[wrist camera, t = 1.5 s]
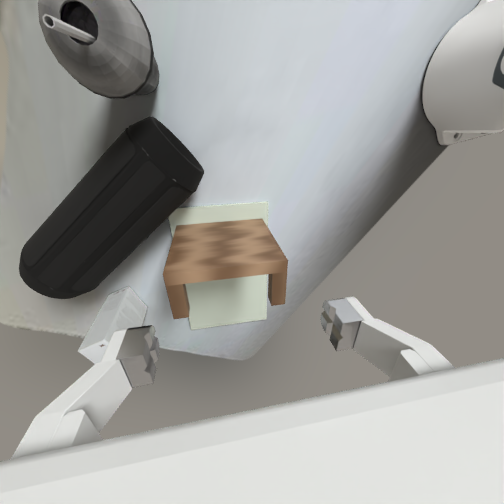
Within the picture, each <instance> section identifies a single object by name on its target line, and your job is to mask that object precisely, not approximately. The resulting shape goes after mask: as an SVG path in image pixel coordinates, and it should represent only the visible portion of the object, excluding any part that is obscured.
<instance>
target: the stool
mask: <svg viewBox="0 0 504 504" xmlns="http://www.w3.org/2000/svg"><path fill="white" fill-rule="evenodd" d="M287 265H288V260H287V258H286V257H285V255H284V253H283V252H282V250H281V248H280V247H279V245H278V244H277V242H276V240H275V239H274V237H273V235H272V234H271V232H270V230H269V229H268V227H267V225H266V224H265V222H264V221H263V219H262V218H261V219H249V220H237V221H224V222H212V223H200V224H188V225H176V229H175V233H174V236H173V240H172V243H171V247H170V250H169V254H168V257H167V261H166V265H165V268H164V272H163V277H164V281H165V285H166V289H167V293H168V297H169V302H170V306H171V310H172V314H173V318H174V319H179V318H186V317H189V312H190V305H189V300H188V295H187V290H186V285H185V284H188V283H197V282H205V281H214V280H223V279H231V278H240V277H248V276H257V275H265V274H269V283H268V298H269V300H270V303H271V306H273V305H281V304H285V296H286V280H287Z"/></svg>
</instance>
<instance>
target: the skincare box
mask: <svg viewBox="0 0 504 504" xmlns="http://www.w3.org/2000/svg"><path fill="white" fill-rule="evenodd" d="M146 311H147V306H146V305H145V304H144V303H143V302H142V301H141V299H140V298H139V297H138V296H137V295H136V294H135V293H134V291H133V290H132V289H131V288H130V287H129V286H128V287H126V288H123V289H121V290H119V291H116V292H114V293H111V294H109V295H108V297H107V298H106V300H105V302H104V304H103V306H102V308H101V309H100V311H99V313H98V315H97V317H96V318H95V320H94V322H93V324H92V326H91V328H90V329H89V331H88V333H87V335H86V337H85V339H84V340H83V342H82V344H81V346H80V348H79V350H78V352H80V353H81V354H82V355H84V356H85V357H86V358H88V359H89V360H90V361H91V362H93V363H94V364H96V363H99V362H101V360H102V358H103V356H104V353H105V351H106V349H107V346H108V344H109V342H110V340H111V337H112V335H113V333H114V332H115V331H116V330H118V329H127V328H133V327H141V326H142V324H143V321H144V318H145V315H146Z"/></svg>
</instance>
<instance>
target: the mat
mask: <svg viewBox="0 0 504 504" xmlns="http://www.w3.org/2000/svg"><path fill="white" fill-rule="evenodd" d="M168 218H169V223H170V228H171V233H172V238H173V236H174V233H175V229H176V225H188V224H200V223H212V222H224V221H237V220H249V219H261V218H262V219H263V221H264V222H265V224H266V225H267V227H268V201H267V202H253V203H239V204H225V205H211V206H196V207H182V208H177V209H176V210H175V211H174V212H173V213H172V214H171V215H170V216H169V217H168ZM185 285H186V290H187V295H188V300H189V305H190V312H189V321H190V326H191V330H195V329H202V328H209V327H216V326H223V325H229V324H236V323H243V322H250V321H257V320H264V319H266V311H267V274H265V275H257V276H248V277H240V278H231V279H223V280H214V281H205V282H197V283H188V284H185Z"/></svg>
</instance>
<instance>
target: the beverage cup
mask: <svg viewBox="0 0 504 504" xmlns="http://www.w3.org/2000/svg"><path fill="white" fill-rule="evenodd" d="M38 10H39V22H40V25H41V28H42V31H43V34H44V37H45V40H46V42H47V44H48V46H49V47H50V49H51V51H52V52H53V54H54V56H55V57H56V59H57V60H58V62H59V63H60V64H61V65H62V66H63V67H64V68H65V69H66V70H67V72H68V73H69V74H70V75H71V76H72V77H73V78H74V79H76V80H77V81H78V82H79V83H80V84H81V85H83V86H84V87H86V88H87V89H89V90H90V91H92V92H94V93H95V94H98V95H101V96H104V97H108V98H126V97H129V96H131V95H134V94H136V95H145V94H148V93H151V92H153V91H154V90H155V89H156V87H157V85H158V83H159V70H158V65H157V63H156V60H155V58H154V52H153V46H152V41H151V35H150V32H149V30H148V28H147V25H146V23H145V21H144V18H143V16H142V14H141V13H140V12H139V10H138V9H137V7H136V6H135V5H134V3H133V2H132V0H39V1H38Z"/></svg>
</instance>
